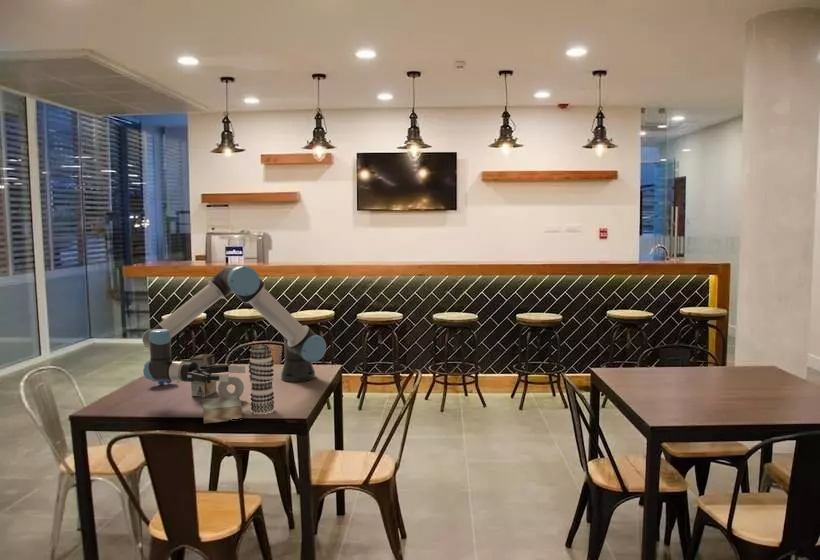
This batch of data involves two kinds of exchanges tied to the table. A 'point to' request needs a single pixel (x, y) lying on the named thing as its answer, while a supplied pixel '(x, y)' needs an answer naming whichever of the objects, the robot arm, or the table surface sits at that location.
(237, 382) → the donut
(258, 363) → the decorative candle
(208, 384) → the coffee box
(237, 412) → the riser
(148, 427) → the table surface
